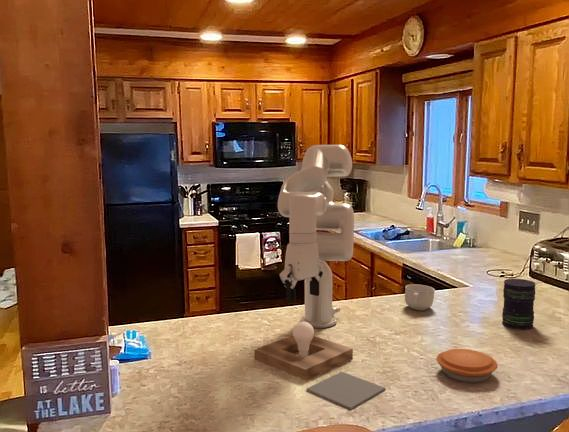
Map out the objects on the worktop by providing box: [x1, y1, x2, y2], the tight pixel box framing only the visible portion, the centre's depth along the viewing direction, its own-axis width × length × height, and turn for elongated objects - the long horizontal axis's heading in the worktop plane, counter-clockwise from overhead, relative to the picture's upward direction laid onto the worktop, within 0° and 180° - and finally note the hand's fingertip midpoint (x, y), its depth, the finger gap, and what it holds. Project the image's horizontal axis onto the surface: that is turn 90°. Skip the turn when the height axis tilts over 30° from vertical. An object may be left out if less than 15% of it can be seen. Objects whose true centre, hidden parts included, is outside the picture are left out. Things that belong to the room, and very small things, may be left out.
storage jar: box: [501, 278, 536, 331], centre depth 177 cm, size 10×10×15 cm
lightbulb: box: [292, 322, 315, 358], centre depth 150 cm, size 6×6×11 cm
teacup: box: [404, 283, 436, 311], centre depth 196 cm, size 14×11×8 cm
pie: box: [436, 348, 499, 384], centre depth 140 cm, size 15×16×5 cm
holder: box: [253, 334, 354, 381], centre depth 151 cm, size 20×20×3 cm
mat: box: [306, 371, 386, 410], centre depth 131 cm, size 14×14×1 cm
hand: (303, 298), depth 148 cm, fingers open, 9 cm apart
